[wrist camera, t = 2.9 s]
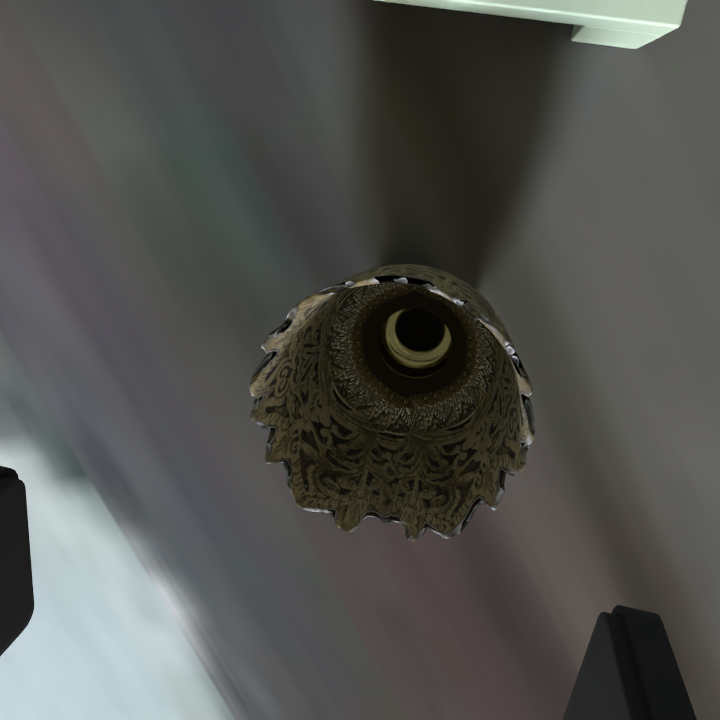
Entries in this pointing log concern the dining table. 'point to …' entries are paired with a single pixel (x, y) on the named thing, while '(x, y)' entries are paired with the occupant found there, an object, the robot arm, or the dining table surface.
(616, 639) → the robot arm
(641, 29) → the shelf
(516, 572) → the dining table surface
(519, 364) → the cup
